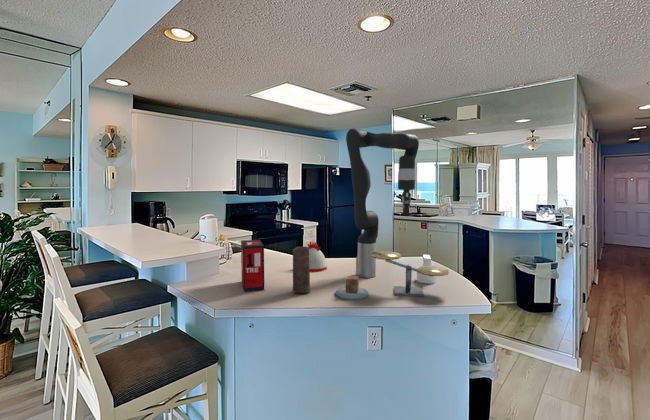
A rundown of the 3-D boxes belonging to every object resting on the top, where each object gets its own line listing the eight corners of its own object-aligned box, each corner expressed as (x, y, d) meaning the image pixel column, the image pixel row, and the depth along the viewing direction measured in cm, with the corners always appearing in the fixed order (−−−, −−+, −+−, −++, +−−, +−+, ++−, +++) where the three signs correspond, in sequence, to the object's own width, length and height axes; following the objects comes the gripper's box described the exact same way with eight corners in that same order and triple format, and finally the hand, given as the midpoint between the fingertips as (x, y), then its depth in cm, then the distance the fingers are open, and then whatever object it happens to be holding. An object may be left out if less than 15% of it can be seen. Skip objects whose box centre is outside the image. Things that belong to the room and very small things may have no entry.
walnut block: (345, 292, 148) (345, 278, 147) (347, 289, 153) (347, 275, 152) (357, 293, 147) (357, 279, 146) (358, 290, 152) (358, 276, 151)
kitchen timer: (312, 264, 203) (312, 239, 202) (331, 268, 195) (331, 241, 194) (296, 269, 192) (296, 242, 191) (316, 273, 184) (316, 245, 183)
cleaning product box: (241, 281, 169) (241, 240, 167) (260, 280, 171) (259, 239, 169) (243, 292, 153) (243, 246, 151) (264, 290, 155) (263, 245, 154)
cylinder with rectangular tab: (436, 284, 166) (437, 258, 165) (417, 282, 167) (417, 258, 166) (434, 278, 174) (435, 255, 173) (416, 277, 176) (416, 254, 175)
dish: (328, 294, 150) (328, 291, 150) (350, 287, 160) (350, 284, 160) (353, 302, 140) (353, 299, 140) (375, 294, 150) (375, 291, 150)
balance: (369, 294, 149) (370, 256, 148) (370, 285, 162) (371, 250, 161) (450, 299, 144) (451, 259, 142) (445, 289, 156) (446, 253, 155)
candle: (303, 296, 147) (302, 249, 146) (289, 293, 151) (288, 247, 149) (313, 291, 154) (313, 246, 152) (299, 288, 158) (299, 244, 156)
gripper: (397, 179, 165) (396, 213, 166) (398, 178, 151) (397, 216, 152) (414, 179, 164) (413, 213, 165) (416, 179, 150) (415, 216, 151)
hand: (405, 215), depth 159 cm, fingers open, 8 cm apart
